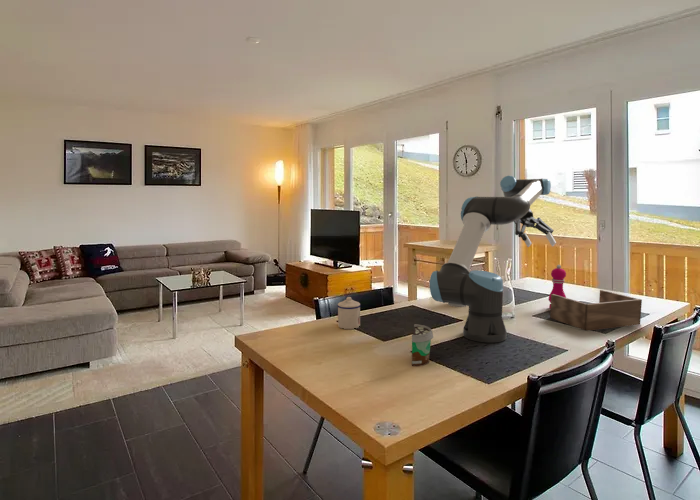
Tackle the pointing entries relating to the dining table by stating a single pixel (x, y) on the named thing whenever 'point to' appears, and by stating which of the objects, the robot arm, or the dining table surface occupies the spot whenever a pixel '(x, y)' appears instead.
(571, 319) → the open-sided box
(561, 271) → the pepper mill
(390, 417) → the dining table surface
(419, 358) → the food container
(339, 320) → the teacup with lid
